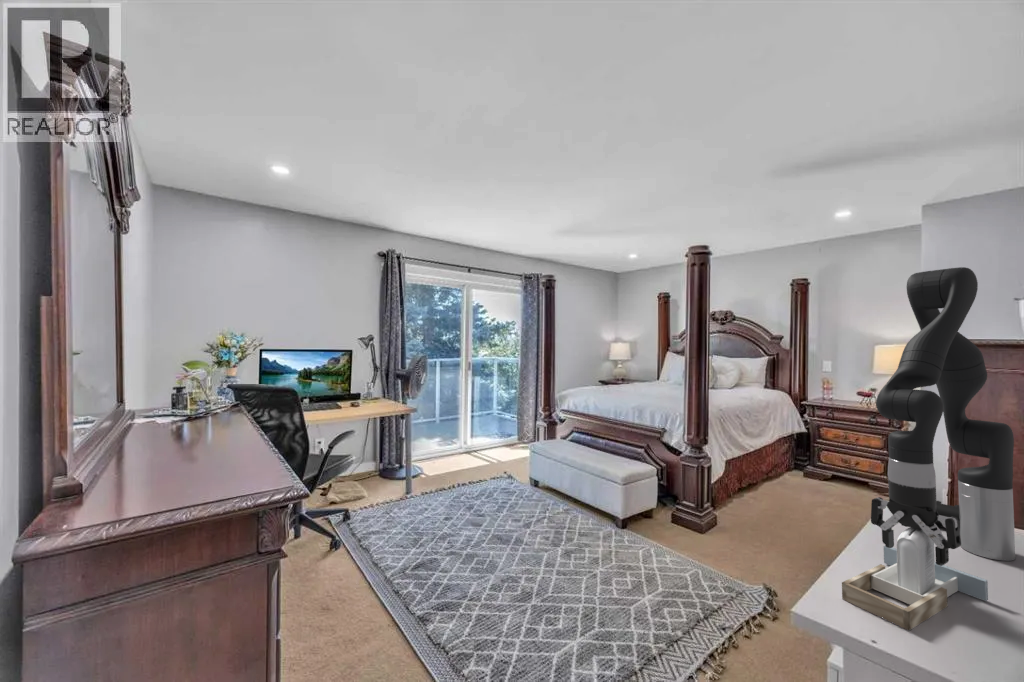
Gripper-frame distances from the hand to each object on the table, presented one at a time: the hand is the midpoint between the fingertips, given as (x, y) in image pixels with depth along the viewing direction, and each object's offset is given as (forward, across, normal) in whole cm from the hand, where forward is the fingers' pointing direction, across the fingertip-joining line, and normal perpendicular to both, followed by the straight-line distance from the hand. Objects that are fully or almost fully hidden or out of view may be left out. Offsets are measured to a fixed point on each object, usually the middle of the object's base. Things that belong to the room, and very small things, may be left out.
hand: (913, 555), depth 91 cm
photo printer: (+7, 0, 0) cm, 7 cm away
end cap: (+8, +11, -46) cm, 48 cm away
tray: (+8, 0, 0) cm, 8 cm away
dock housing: (+8, 0, +8) cm, 11 cm away
